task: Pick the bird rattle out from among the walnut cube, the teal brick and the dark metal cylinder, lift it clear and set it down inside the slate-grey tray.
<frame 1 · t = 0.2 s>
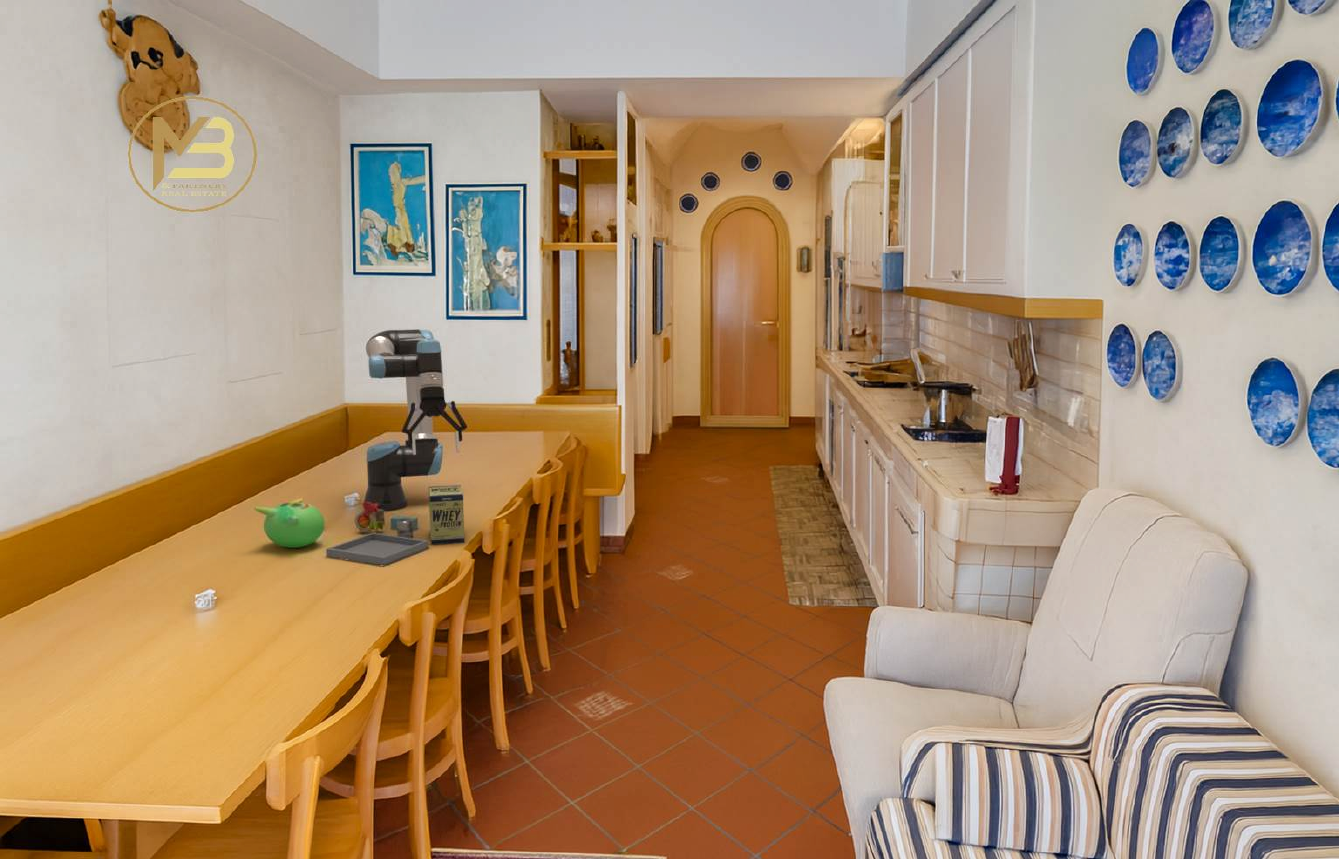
hand: (436, 453, 301), 27 cm above the table, tool tilted 20°, fingers open, 13 cm apart
tray: (378, 552, 288), on the table
metal cylinder: (405, 538, 303), on the table
teal brick: (404, 529, 315), on the table
green rounded blob: (294, 547, 294), on the table
protein box: (447, 538, 305), on the table
walnut cube: (373, 525, 320), on the table
bird rattle: (369, 534, 309), on the table
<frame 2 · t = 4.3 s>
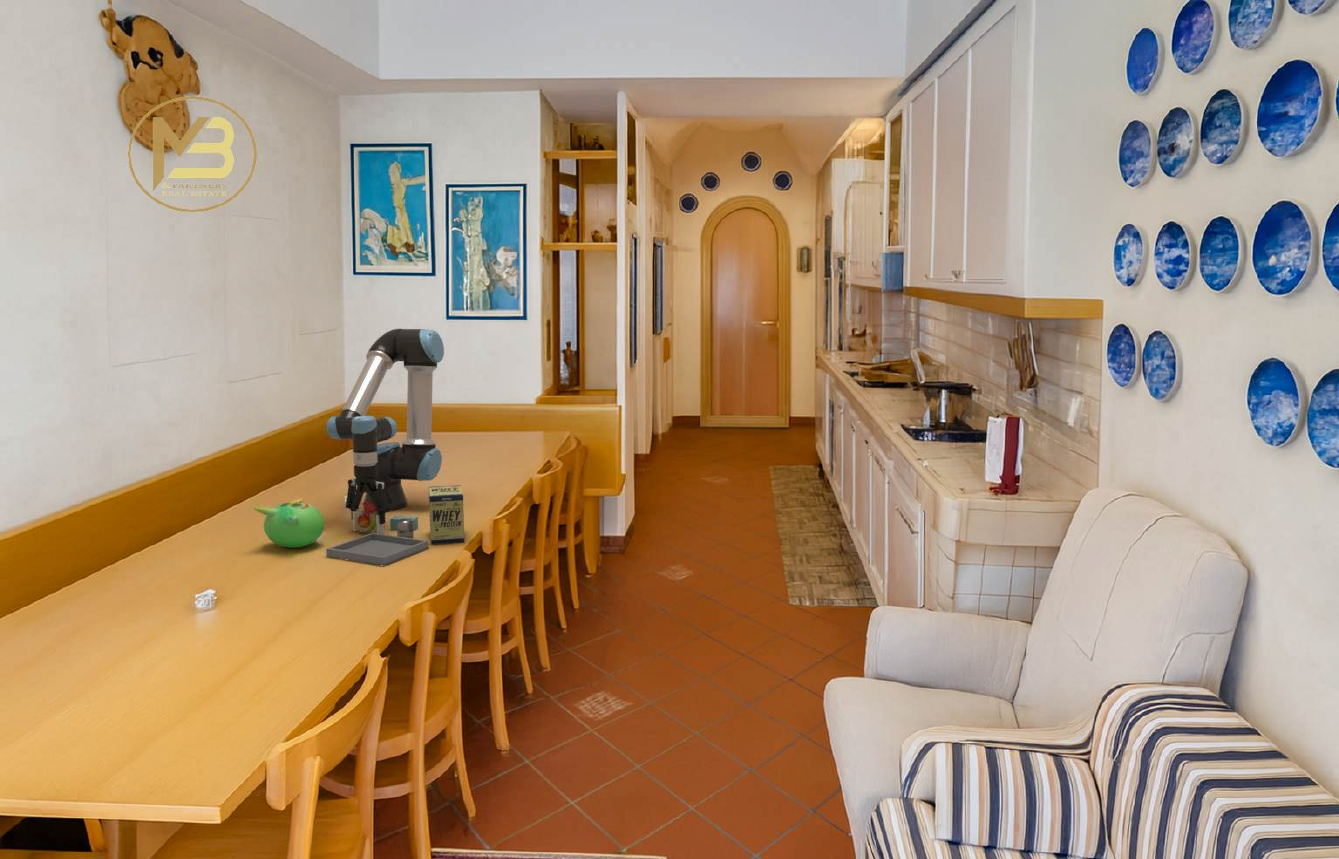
hand: (368, 531, 309), 1 cm above the table, tool pointing down, fingers closed on bird rattle, 9 cm apart
bird rattle: (369, 533, 309), on the table, touching gripper
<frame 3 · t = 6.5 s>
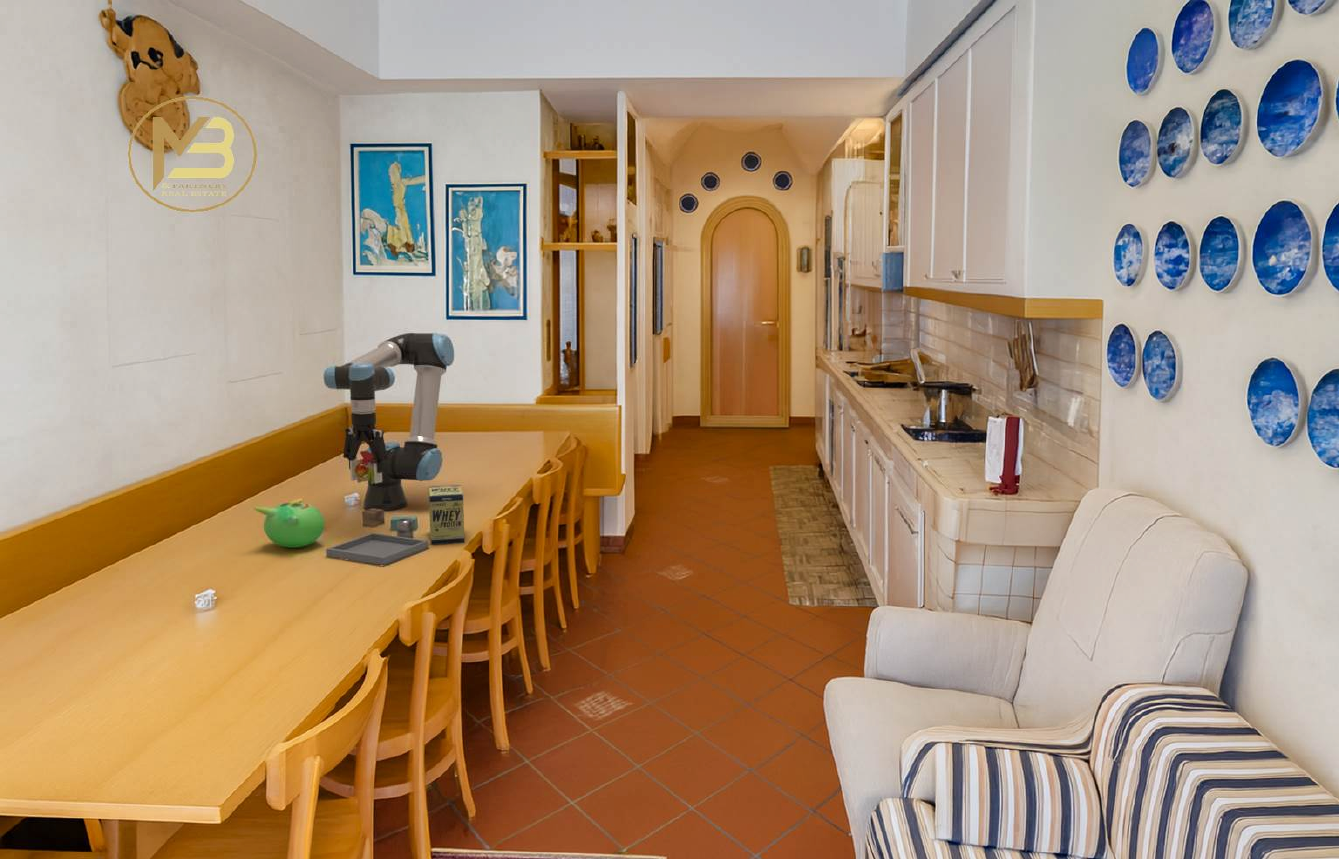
hand: (366, 481, 306), 18 cm above the table, tool pointing down, fingers closed on bird rattle, 9 cm apart
bird rattle: (366, 483, 306), point 17 cm above the table, touching gripper
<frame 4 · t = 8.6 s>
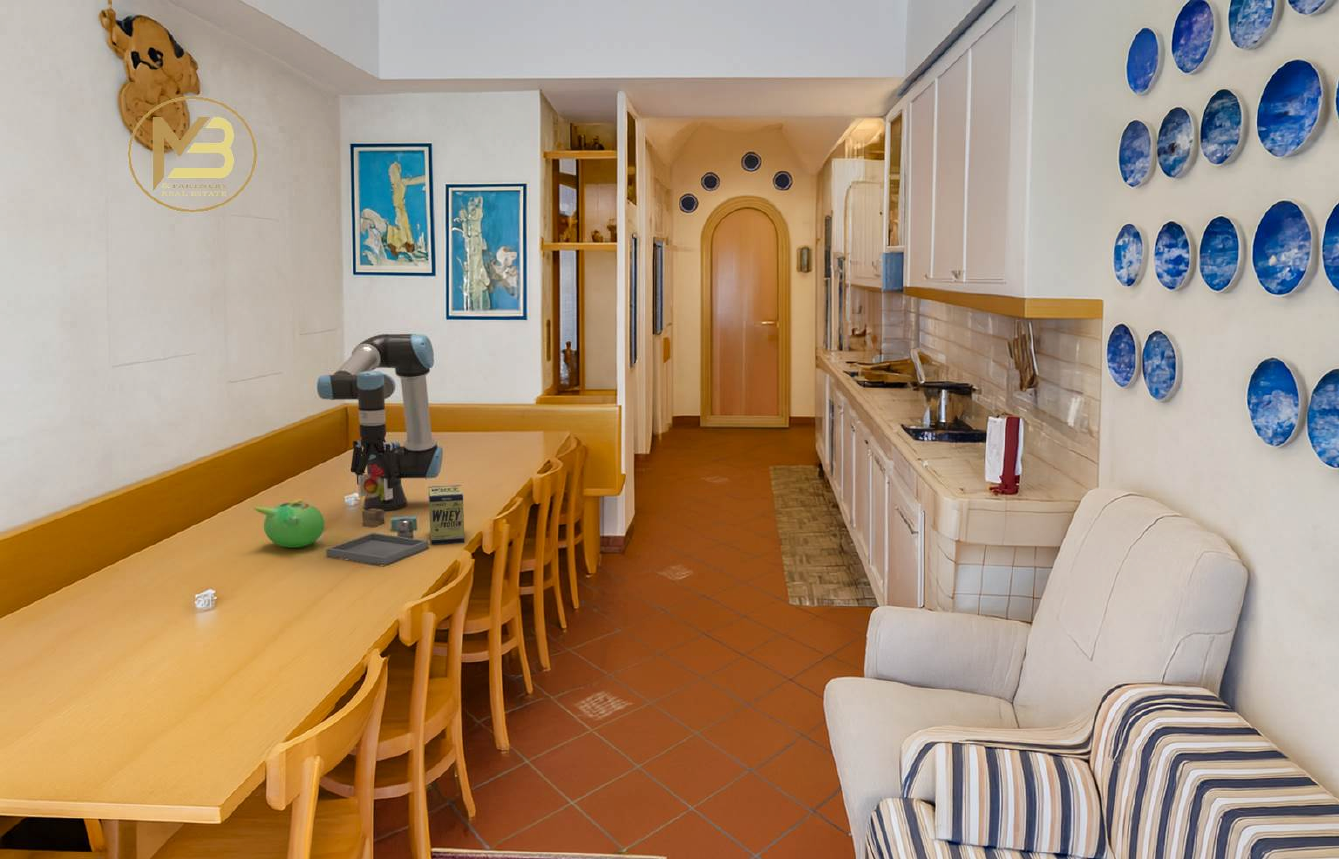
hand: (375, 497, 285), 17 cm above the table, tool pointing down, fingers closed on bird rattle, 9 cm apart
bird rattle: (376, 499, 285), point 17 cm above the table, touching gripper
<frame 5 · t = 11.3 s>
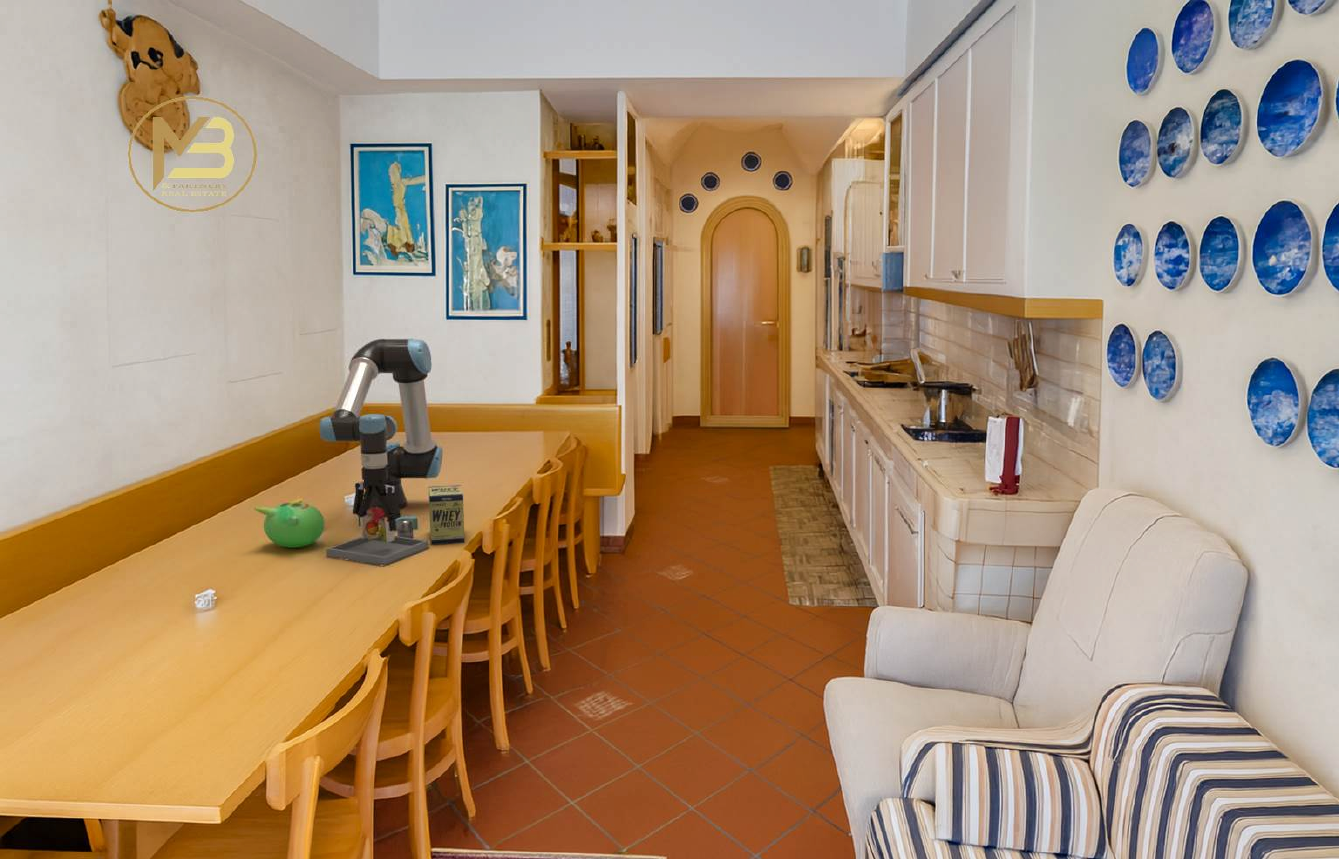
hand: (377, 539, 287), 4 cm above the table, tool pointing down, fingers closed on bird rattle, 9 cm apart
bird rattle: (378, 541, 287), point 4 cm above the table, touching gripper
when the fingers open (2 cm above the table, at t = 13.3 s): bird rattle stays where it is, resting on tray.
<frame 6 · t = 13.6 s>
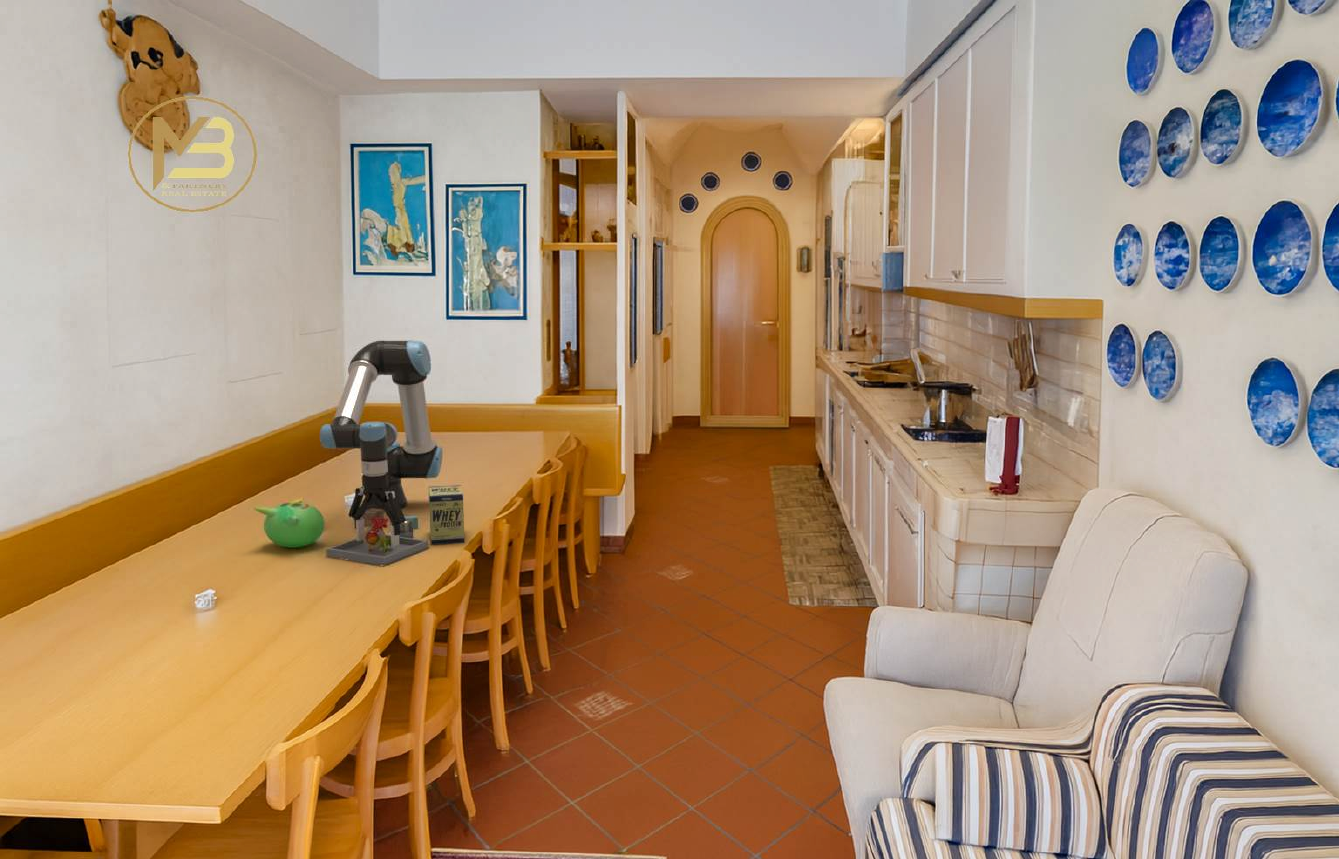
hand: (378, 542, 287), 3 cm above the table, tool pointing down, fingers open, 13 cm apart
bird rattle: (378, 551, 288), resting on tray
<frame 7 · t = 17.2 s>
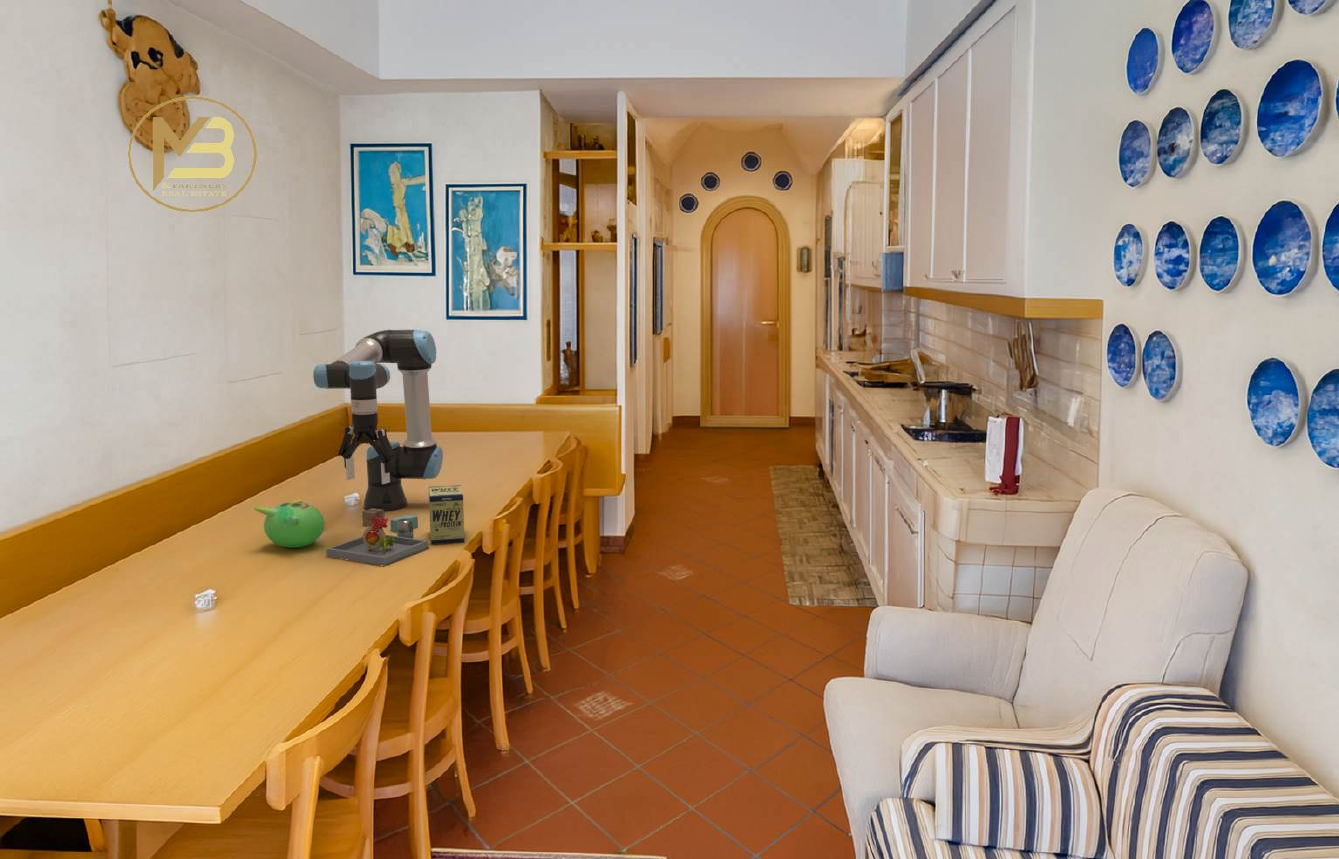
hand: (368, 481, 290), 21 cm above the table, tool pointing down, fingers open, 13 cm apart
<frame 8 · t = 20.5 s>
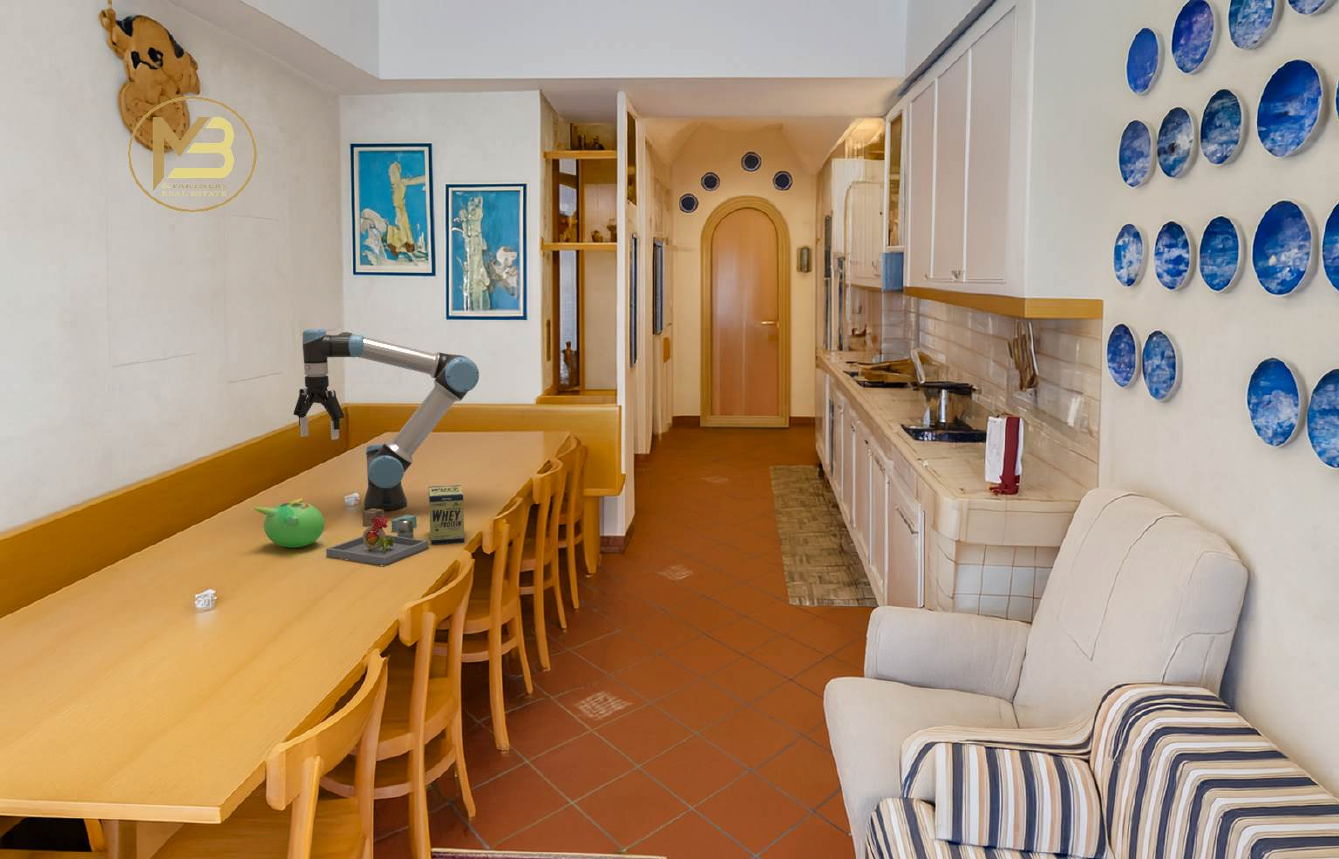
hand: (319, 437, 322), 29 cm above the table, tool pointing down, fingers open, 13 cm apart
at the end: bird rattle inside the target area on the tray (0.1 cm from its centre), point 0.4 cm above the tray's base; the gripper is holding nothing; bird rattle moved 24.0 cm from its start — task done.
